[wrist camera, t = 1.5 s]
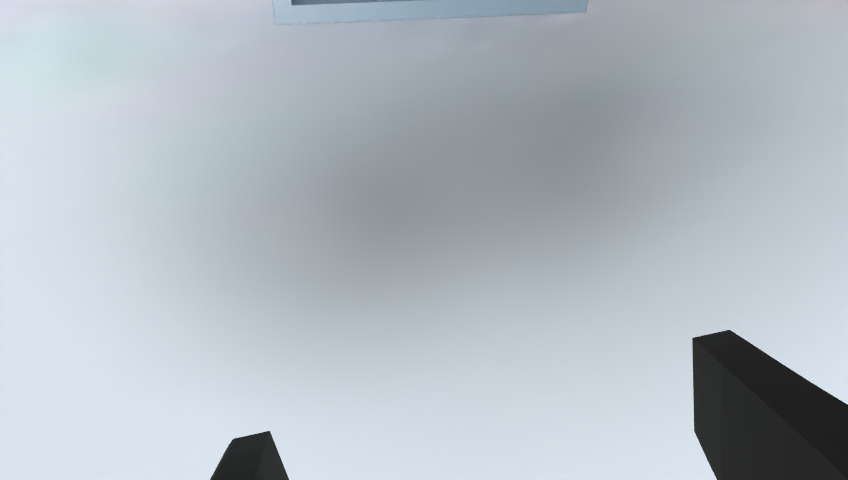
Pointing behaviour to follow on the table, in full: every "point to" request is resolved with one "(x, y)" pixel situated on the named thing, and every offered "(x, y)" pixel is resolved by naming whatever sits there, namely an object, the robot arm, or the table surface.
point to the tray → (412, 9)
